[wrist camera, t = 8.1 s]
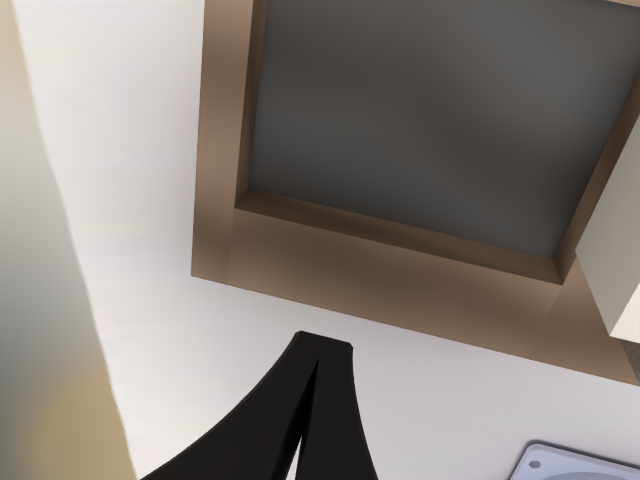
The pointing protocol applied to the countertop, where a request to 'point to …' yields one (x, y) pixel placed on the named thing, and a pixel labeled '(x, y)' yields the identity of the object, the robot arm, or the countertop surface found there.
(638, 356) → the tunnel
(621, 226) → the slider
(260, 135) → the deck
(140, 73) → the countertop surface
